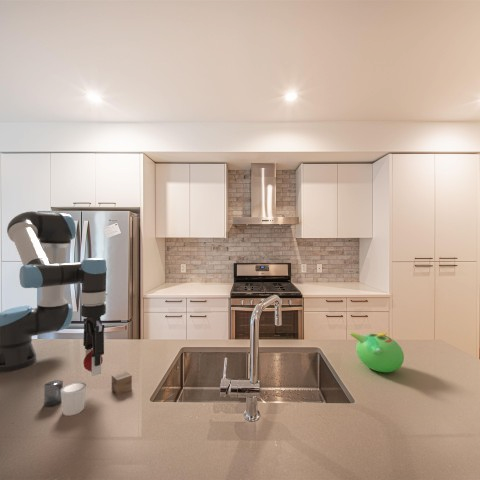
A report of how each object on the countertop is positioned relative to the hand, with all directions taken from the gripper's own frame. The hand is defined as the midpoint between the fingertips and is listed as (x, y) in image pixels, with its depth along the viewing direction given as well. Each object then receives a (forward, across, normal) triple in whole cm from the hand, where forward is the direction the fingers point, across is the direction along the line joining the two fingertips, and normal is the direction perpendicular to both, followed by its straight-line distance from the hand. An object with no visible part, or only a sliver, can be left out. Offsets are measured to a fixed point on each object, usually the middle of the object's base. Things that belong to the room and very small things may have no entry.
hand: (93, 371), depth 98 cm
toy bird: (+7, -62, -89) cm, 108 cm away
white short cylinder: (+8, -7, +8) cm, 13 cm away
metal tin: (+8, +2, +11) cm, 14 cm away
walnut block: (+7, -4, -8) cm, 12 cm away
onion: (+1, 0, 0) cm, 1 cm away
